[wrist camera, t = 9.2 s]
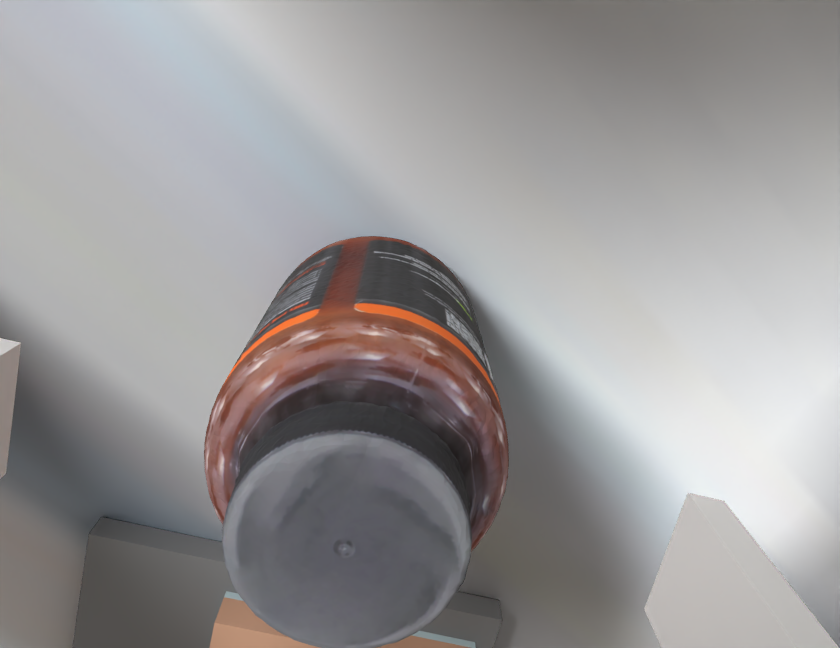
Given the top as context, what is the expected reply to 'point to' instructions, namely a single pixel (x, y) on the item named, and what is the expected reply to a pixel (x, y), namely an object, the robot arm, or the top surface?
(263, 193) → the top surface
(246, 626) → the tile
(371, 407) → the supplement bottle
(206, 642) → the mat
